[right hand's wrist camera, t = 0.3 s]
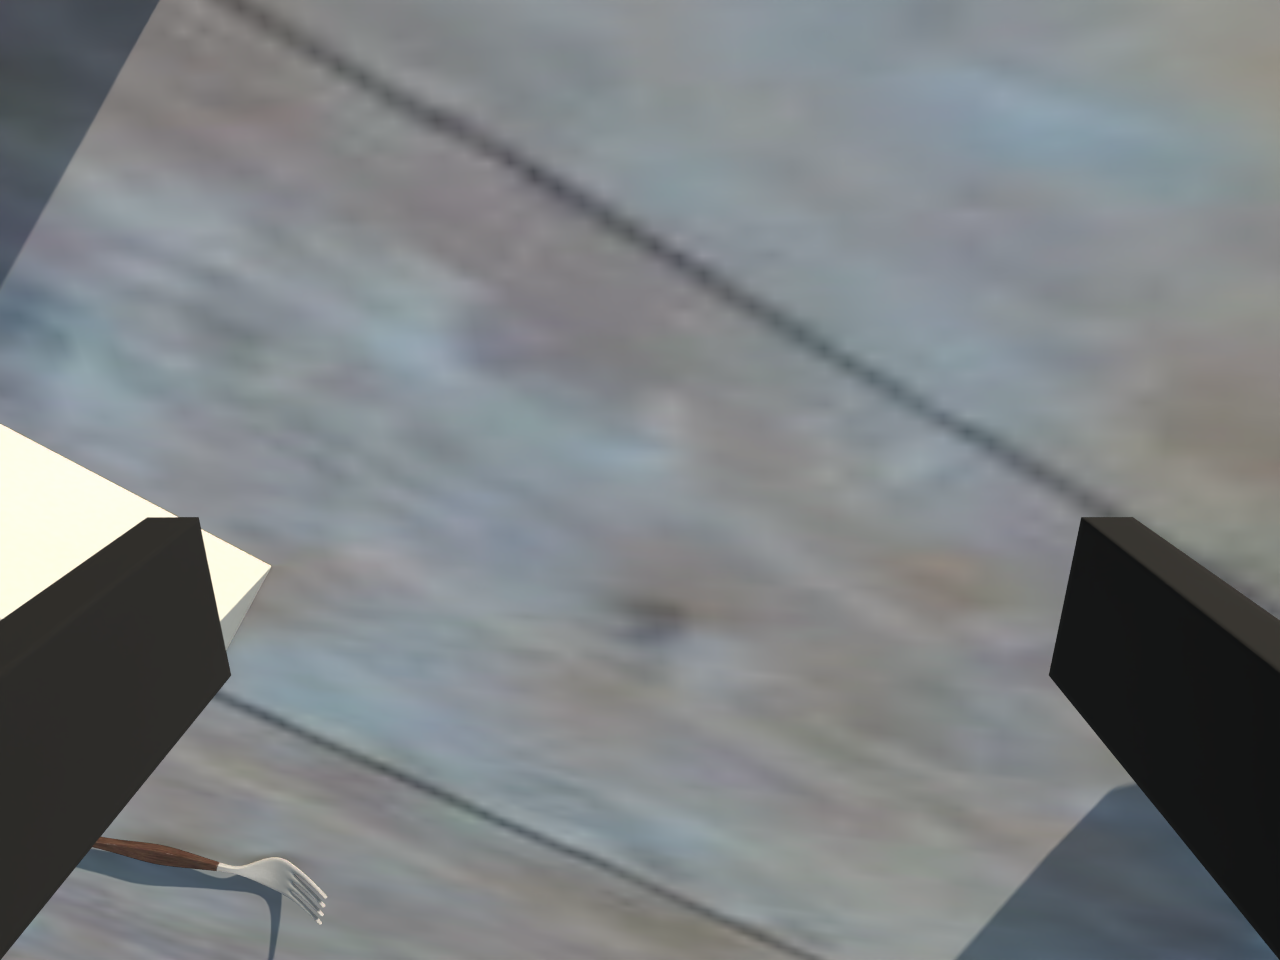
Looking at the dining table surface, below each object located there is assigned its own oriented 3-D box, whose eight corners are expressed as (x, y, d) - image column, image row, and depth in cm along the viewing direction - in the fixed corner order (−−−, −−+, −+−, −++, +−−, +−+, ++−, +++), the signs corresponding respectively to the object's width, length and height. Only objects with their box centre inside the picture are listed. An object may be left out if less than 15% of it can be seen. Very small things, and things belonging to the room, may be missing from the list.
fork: (66, 810, 48) (43, 836, 46) (338, 868, 50) (327, 895, 48) (65, 844, 49) (42, 871, 47) (332, 899, 50) (320, 927, 49)
